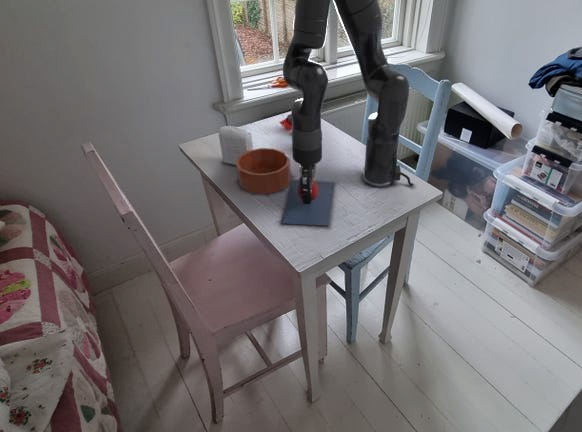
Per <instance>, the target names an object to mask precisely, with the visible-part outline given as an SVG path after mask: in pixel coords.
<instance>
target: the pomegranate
mask: <svg viewBox="0 0 582 432" xmlns="http://www.w3.org/2000/svg"><path fill="white" fill-rule="evenodd" d="M310 181H311V179H310ZM315 182H316V181H314V182H313V185H311V190H312V192H311V201H312V200H314V199H315V198H316V197H317V196H318V193H319V189H318V185H317V183H315ZM300 192H301V191H300V184H299V186H298V195H299V197H300V198H301V199H302V200H303V195H301V194H300Z"/></svg>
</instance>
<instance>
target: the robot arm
mask: <svg viewBox="0 0 582 432" xmlns="http://www.w3.org/2000/svg"><path fill="white" fill-rule="evenodd" d="M332 1H333V3H334V6H335V9H336V13H337V15H338V17H339V20H340V23H341V25H342V27H343V29H344V31H345V35H346V36H347V39H348V41H349V44H350V46H351V49H352V51H353V53H354V55H355V58H356V60H357V63H358V67H359V71H360V74H361V77H362V81H363V86H364V89H365V92H366V94H367V95H368V97H370V98H371V99H372V100H373V101H374V102H376V103H377V111H376V112H374V113H372V114H370V115H369V117H368V120H367V127H366V128H367V130H366V141H365V143H366V144H365V154H364V156H365V157H364V167H362V168H363V180H364V182H365V183H366V184H368V185H369V186H373V187H378V188H382V187H383V188H384V187H388V186H390V185H392V186H394V185H395V181H400V180H401V176H402V177H404V178H405V179H406V180H407V184H408V185H409V186H411V187H413V186H414V183H412V182H411V178H410V177H409V176H408V175H407V174H405V173H404V172H402V171H401V165H398V147H399V140H400V133H401V126H402V124H403V122H404V120H405V117H406V112H407V107H408V102H409V97H410V83H409V79H408V78H407V77H406V76H405V75H404V74H403V73H400V72H399V71H397V70H395V69H393V68H392V67H391V66H390V64H389V62H388V60H387V58H386V55H385V52H384V50H383V47H382V32H383V15H382V11H381V10H382V9H381V6H380V4H379V0H332ZM330 7H331V0H295V6H294V15H293V16H294V17H293V26H292V36H291V40H290V42H289V45H288V48H287V51H286V53H285V57H284V60H283V64H282V76H283V77H282V78H283V80H284V83H285V84H286V85H287V86H288V87H289V88H291V89H293V90H295V91H298V92H301V93H302V95H303V96H302V98H300V99H297V100H295V101H294V102H293V103H292V105H291V113H292V129H291V150H292V160H293V161H294V162H295V163H297V164H299V165H300V166H299V168H298V172H299V179H298V181H300V191H301V192H300V194H301V195H303V204H311V192H312V190H311V185H313V182H315V180H314V178H315V176H316V168H317V164H318V163H320V162H321V161H322V159H323V131H322V109H323V105H324V101H325V98H326V94H327V90H328V86H329V76H328V73H327V70H326V68H325V67H324V66H323V64H321V63H318V62H317V61H316V62H315V61H313V60H310V56H311V54H312V51H316V50H318V51H319V50H321V49H323V48H324V46H325V44H326V40H327V31H328V22H329V15H330ZM310 179H311V181H310Z"/></svg>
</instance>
